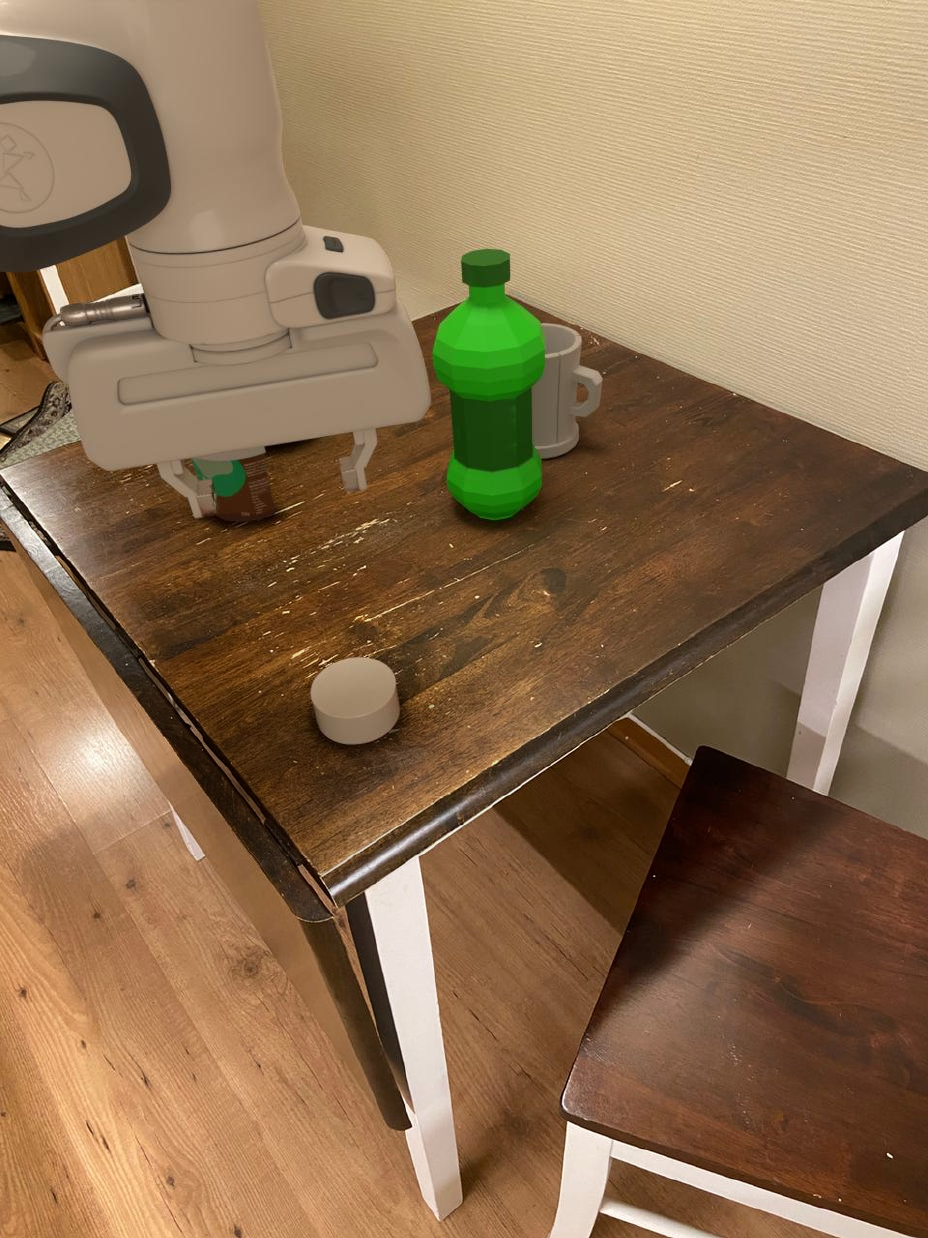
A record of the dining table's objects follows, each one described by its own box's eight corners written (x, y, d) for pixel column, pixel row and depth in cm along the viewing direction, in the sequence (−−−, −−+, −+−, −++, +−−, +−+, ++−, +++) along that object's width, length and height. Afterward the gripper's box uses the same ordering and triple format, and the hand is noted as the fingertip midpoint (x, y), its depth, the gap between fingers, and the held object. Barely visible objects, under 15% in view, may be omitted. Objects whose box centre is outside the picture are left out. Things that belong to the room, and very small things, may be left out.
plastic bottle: (435, 490, 94) (412, 247, 77) (530, 472, 95) (527, 231, 79) (458, 542, 86) (438, 286, 70) (560, 522, 88) (564, 267, 72)
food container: (179, 493, 96) (152, 410, 90) (230, 473, 99) (208, 391, 92) (227, 543, 89) (202, 456, 82) (282, 520, 91) (261, 433, 85)
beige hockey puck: (321, 753, 67) (315, 726, 65) (312, 693, 72) (306, 666, 70) (407, 734, 68) (403, 707, 66) (392, 676, 73) (388, 649, 71)
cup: (583, 416, 104) (586, 316, 96) (602, 455, 97) (607, 351, 89) (495, 426, 103) (491, 327, 96) (508, 466, 96) (504, 362, 89)
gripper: (17, 333, 44) (110, 556, 53) (423, 274, 46) (445, 498, 55) (38, 288, 48) (120, 500, 57) (405, 237, 51) (428, 449, 60)
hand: (282, 499), depth 56 cm, fingers open, 8 cm apart
